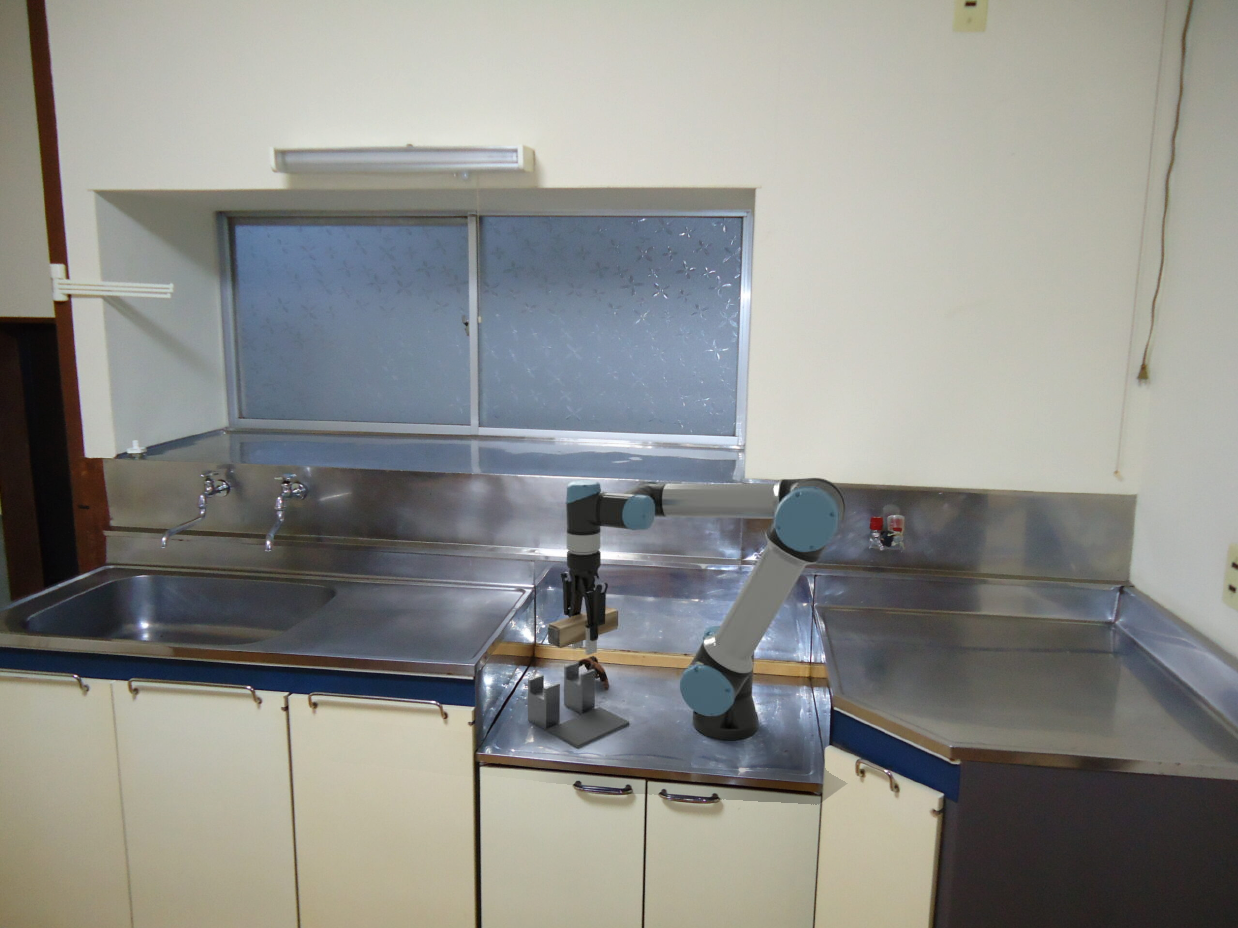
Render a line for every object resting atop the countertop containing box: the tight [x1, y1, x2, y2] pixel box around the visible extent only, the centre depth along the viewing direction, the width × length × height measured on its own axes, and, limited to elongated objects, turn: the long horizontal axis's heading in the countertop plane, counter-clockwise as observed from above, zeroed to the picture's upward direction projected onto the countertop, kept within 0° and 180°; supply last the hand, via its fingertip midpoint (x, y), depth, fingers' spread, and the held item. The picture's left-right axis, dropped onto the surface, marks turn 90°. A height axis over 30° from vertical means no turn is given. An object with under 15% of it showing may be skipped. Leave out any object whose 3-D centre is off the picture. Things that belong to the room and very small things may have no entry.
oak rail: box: [547, 605, 619, 649], centre depth 183 cm, size 4×18×4 cm, turn 134°
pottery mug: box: [577, 655, 610, 691], centre depth 207 cm, size 12×10×8 cm
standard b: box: [527, 674, 561, 731], centre depth 187 cm, size 7×4×10 cm, turn 45°
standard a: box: [563, 661, 596, 715], centre depth 194 cm, size 7×4×10 cm, turn 45°
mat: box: [547, 706, 630, 749], centre depth 185 cm, size 10×16×1 cm, turn 135°
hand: (584, 649), depth 184 cm, fingers closed on oak rail, 4 cm apart
